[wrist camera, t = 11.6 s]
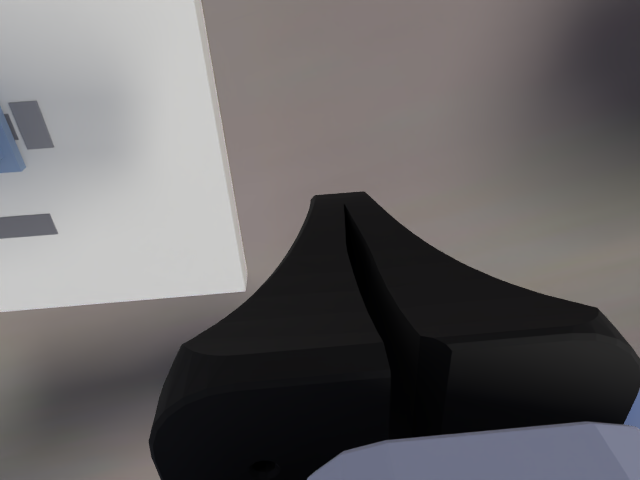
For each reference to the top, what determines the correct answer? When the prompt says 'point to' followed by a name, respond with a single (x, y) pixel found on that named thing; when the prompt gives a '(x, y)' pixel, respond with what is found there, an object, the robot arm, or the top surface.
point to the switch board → (113, 156)
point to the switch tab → (9, 149)
